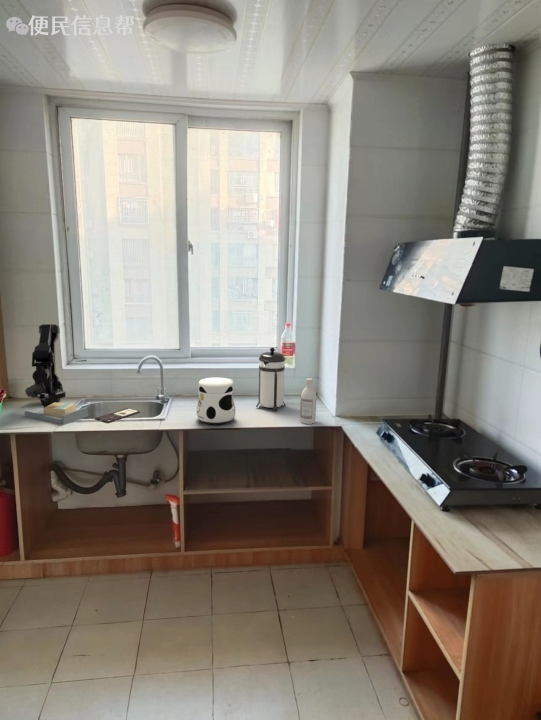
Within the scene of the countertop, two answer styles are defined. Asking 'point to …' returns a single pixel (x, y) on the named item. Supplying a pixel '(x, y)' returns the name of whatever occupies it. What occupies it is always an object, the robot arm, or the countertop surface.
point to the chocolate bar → (117, 415)
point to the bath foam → (308, 403)
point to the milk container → (215, 400)
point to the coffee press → (271, 379)
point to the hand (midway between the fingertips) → (46, 411)
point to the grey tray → (65, 418)
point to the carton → (59, 409)
